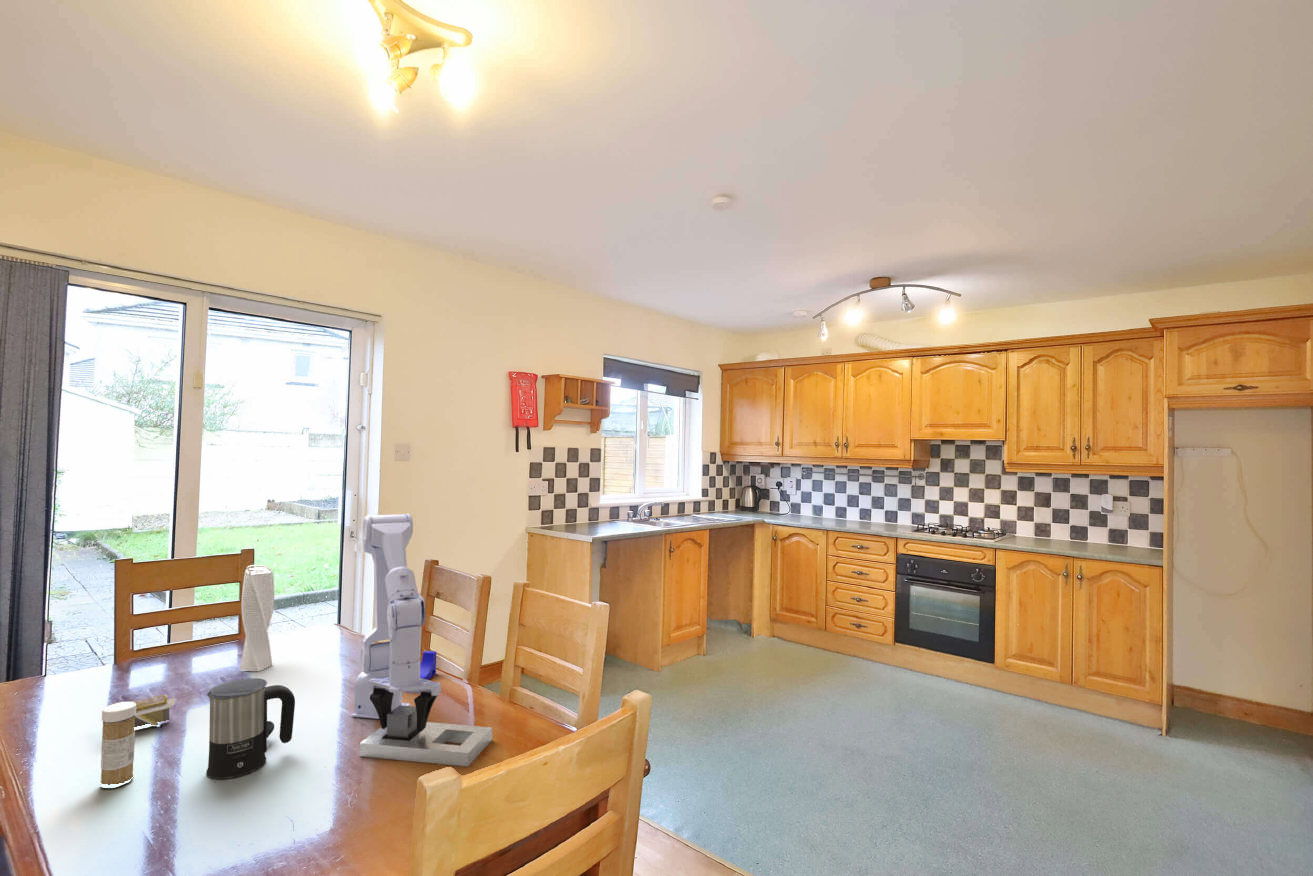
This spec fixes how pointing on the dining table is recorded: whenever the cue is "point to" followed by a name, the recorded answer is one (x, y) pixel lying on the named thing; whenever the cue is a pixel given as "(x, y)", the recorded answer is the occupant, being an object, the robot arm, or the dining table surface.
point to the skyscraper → (257, 617)
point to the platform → (153, 711)
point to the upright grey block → (402, 723)
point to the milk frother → (244, 725)
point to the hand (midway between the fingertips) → (403, 728)
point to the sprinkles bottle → (118, 743)
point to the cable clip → (428, 665)
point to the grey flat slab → (431, 744)
